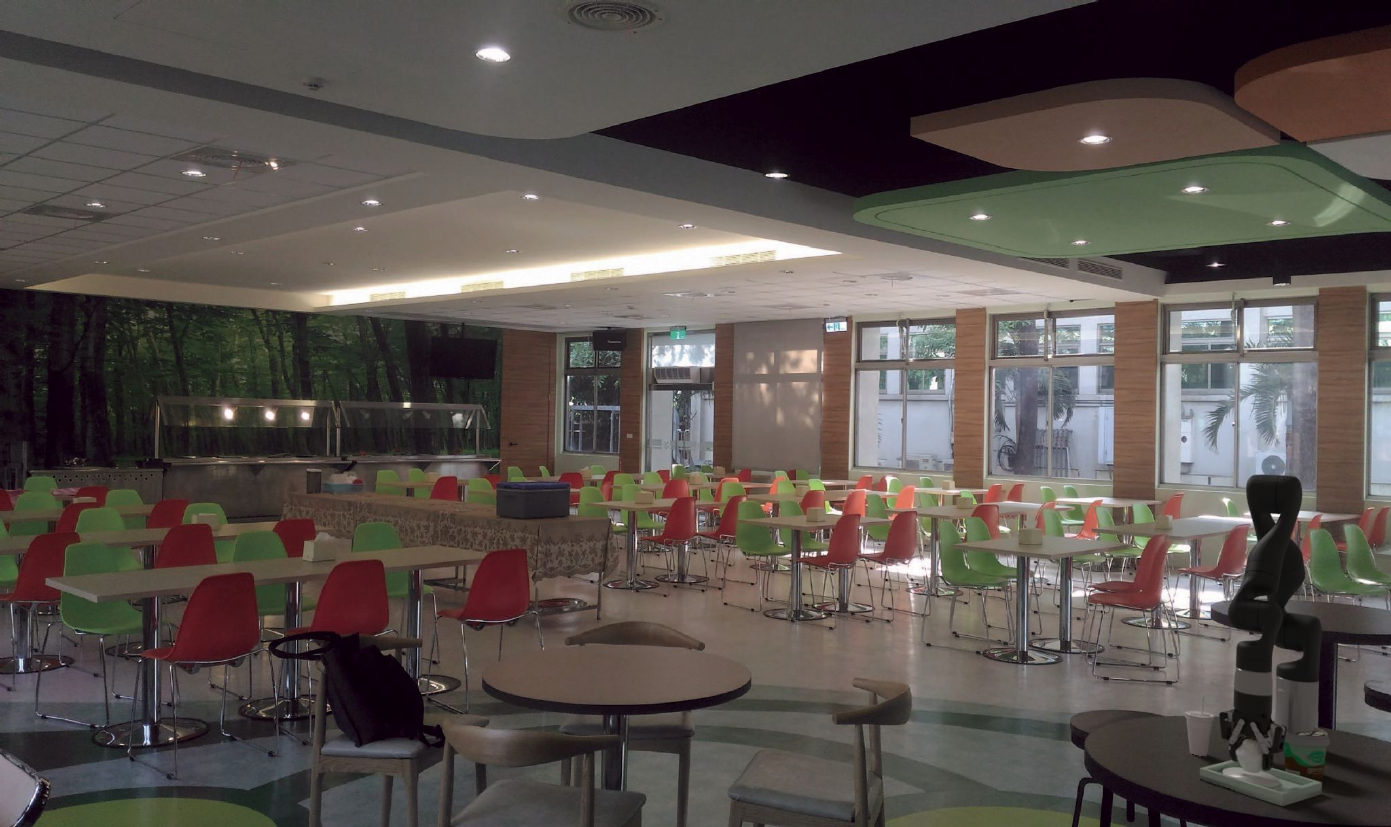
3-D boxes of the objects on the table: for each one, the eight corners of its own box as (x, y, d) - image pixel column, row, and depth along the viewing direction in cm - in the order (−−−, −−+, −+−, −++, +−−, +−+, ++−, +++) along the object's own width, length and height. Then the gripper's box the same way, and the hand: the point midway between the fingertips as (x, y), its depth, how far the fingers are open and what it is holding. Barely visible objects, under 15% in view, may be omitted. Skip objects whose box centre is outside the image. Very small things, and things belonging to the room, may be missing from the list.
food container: (1308, 785, 224) (1309, 739, 224) (1281, 776, 230) (1282, 732, 230) (1341, 778, 230) (1342, 734, 230) (1313, 770, 235) (1315, 726, 236)
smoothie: (1216, 759, 240) (1218, 700, 241) (1187, 757, 242) (1189, 698, 242) (1208, 751, 247) (1210, 694, 247) (1180, 748, 248) (1182, 691, 248)
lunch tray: (1238, 769, 234) (1239, 758, 234) (1321, 794, 219) (1321, 782, 219) (1199, 779, 225) (1199, 768, 225) (1282, 806, 210) (1282, 794, 210)
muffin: (1270, 771, 224) (1271, 739, 224) (1262, 777, 219) (1263, 745, 219) (1239, 764, 228) (1240, 733, 228) (1231, 770, 223) (1232, 738, 224)
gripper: (1295, 695, 220) (1293, 773, 220) (1230, 680, 232) (1228, 754, 232) (1277, 699, 216) (1275, 778, 216) (1212, 684, 228) (1210, 758, 228)
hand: (1251, 765), depth 224 cm, fingers closed on muffin, 6 cm apart
